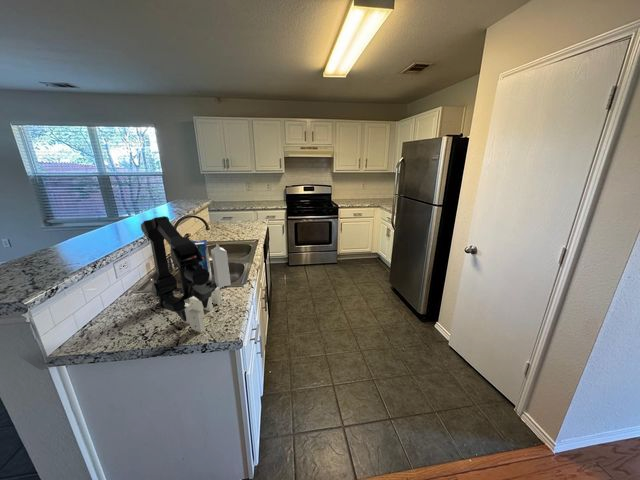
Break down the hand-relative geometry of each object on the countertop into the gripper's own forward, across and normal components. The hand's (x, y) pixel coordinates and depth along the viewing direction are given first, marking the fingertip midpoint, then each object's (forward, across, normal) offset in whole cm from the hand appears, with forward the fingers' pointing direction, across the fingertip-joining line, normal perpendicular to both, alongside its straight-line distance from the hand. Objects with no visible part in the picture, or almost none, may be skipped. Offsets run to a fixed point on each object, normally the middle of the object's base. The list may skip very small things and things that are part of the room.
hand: (195, 314), depth 96 cm
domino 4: (+7, +12, +8) cm, 16 cm away
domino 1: (+7, +2, +8) cm, 11 cm away
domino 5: (+7, +17, +8) cm, 20 cm away
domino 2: (+7, +7, +8) cm, 13 cm away
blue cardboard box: (+7, +30, +32) cm, 44 cm away
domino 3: (+7, 0, 0) cm, 7 cm away
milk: (+7, +32, +18) cm, 37 cm away
